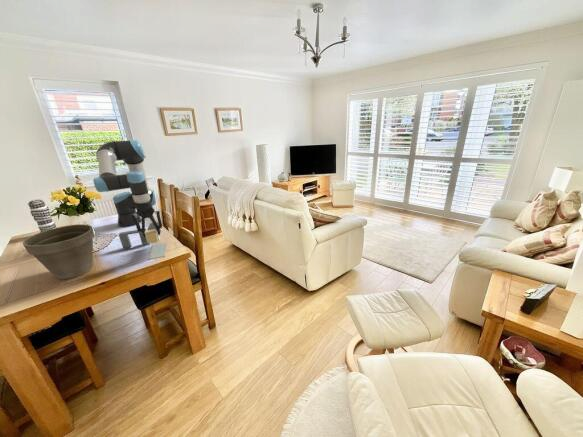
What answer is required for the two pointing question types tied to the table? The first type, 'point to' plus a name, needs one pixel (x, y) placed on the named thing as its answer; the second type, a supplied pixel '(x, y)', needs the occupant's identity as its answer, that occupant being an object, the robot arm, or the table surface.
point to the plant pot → (63, 250)
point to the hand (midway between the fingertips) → (153, 240)
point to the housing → (126, 241)
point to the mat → (158, 251)
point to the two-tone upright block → (152, 234)
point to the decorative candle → (41, 215)
